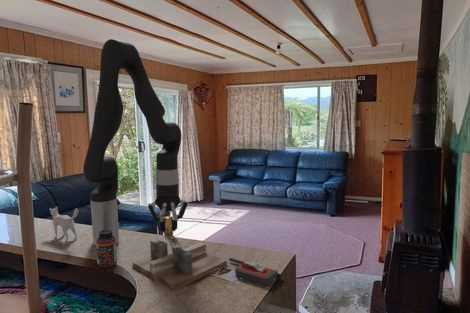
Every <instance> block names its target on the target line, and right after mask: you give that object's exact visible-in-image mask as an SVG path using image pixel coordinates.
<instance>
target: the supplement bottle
mask: <svg viewBox="0 0 470 313" xmlns="http://www.w3.org/2000/svg"><path fill="white" fill-rule="evenodd" d="M95 247H96V256H97V257H96V261H97V263H96V264H97V266H98V267H99V268H105V269H107V268H111V267H113V266H115V265H116V264H117V244H116V239H115V237H114V236H112V230H102V231H100V232H99V238H98V239H97V241H96V246H95Z"/></svg>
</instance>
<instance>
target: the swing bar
mask: <svg viewBox="0 0 470 313" xmlns="http://www.w3.org/2000/svg"><path fill="white" fill-rule="evenodd" d="M163 221H164V232H163V236H164V239H165V240H166V241H167V244H169V245H170V248H172V249H173V250H176V249H178V248H180V249H181V248H182V244H183V243H181V242H180V241H178V239H177V238H176V237H175V235H174V231H173V215H172V216H170V215H168V216H164V219H163Z"/></svg>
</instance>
